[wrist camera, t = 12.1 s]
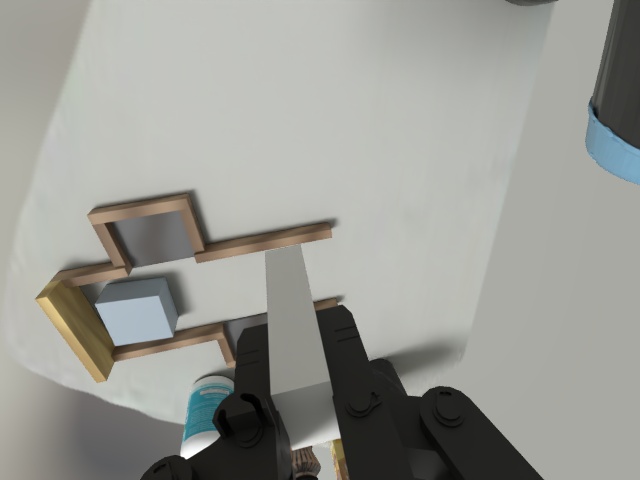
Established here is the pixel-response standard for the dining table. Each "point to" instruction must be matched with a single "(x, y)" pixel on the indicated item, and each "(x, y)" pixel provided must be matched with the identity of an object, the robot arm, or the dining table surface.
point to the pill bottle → (203, 413)
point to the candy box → (339, 459)
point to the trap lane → (146, 249)
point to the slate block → (138, 311)
